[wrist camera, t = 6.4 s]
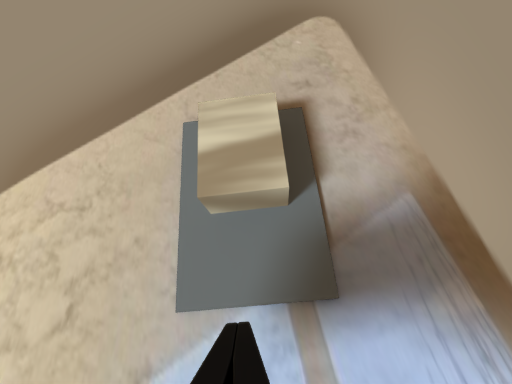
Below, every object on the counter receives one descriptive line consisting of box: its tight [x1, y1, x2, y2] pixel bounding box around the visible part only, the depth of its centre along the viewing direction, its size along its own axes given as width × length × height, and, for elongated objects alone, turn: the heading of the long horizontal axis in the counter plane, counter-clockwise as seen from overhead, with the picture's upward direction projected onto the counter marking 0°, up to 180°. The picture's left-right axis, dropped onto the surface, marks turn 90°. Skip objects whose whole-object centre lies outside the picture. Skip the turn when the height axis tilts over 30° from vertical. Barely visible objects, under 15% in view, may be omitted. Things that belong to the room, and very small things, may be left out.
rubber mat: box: [176, 107, 339, 313], centre depth 20 cm, size 16×11×1 cm
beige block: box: [197, 92, 289, 214], centre depth 19 cm, size 4×6×8 cm
